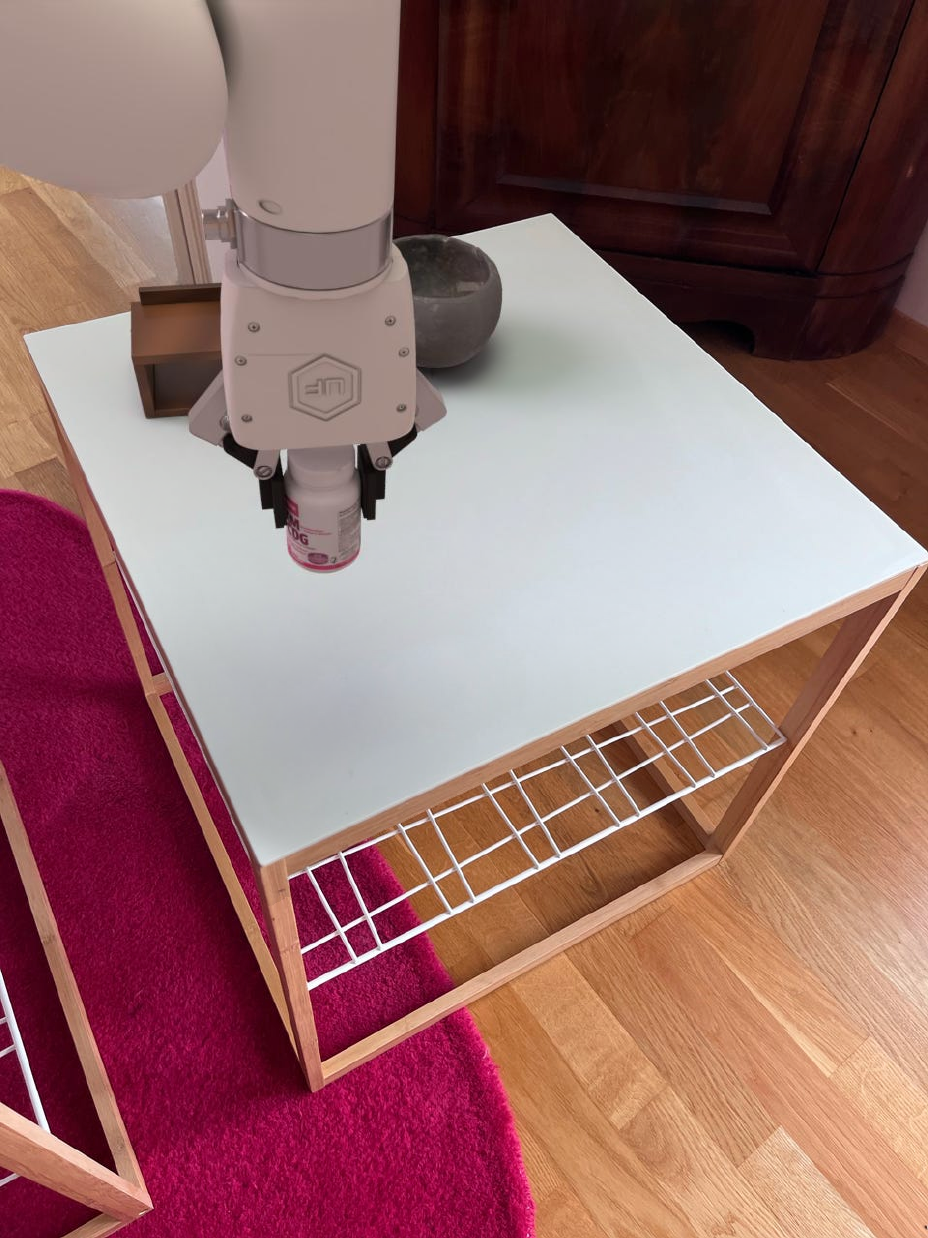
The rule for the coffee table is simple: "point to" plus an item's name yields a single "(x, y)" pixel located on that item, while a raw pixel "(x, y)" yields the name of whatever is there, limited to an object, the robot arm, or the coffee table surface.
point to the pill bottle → (323, 507)
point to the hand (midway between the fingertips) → (323, 506)
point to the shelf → (175, 345)
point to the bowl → (450, 298)
